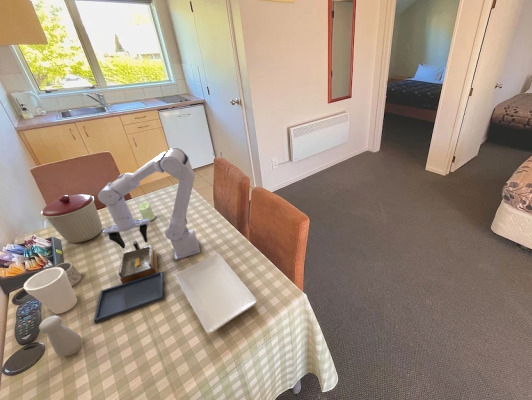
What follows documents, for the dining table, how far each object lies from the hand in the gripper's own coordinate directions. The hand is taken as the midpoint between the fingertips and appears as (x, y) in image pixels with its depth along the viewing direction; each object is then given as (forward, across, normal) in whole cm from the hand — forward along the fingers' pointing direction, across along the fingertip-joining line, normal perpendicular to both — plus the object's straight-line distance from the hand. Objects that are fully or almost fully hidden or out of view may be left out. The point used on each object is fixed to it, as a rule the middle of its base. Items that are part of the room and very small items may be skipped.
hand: (135, 243), depth 105 cm
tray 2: (+8, -24, +33) cm, 41 cm away
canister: (+8, +24, -30) cm, 39 cm away
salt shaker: (+8, +16, +34) cm, 38 cm away
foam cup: (+8, +22, +14) cm, 27 cm away
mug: (+8, +25, +2) cm, 26 cm away
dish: (+5, 0, +6) cm, 8 cm away
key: (+4, 0, +7) cm, 8 cm away
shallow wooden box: (+8, 0, +7) cm, 10 cm away
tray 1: (+8, +2, +20) cm, 22 cm away
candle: (+3, -2, -31) cm, 31 cm away
